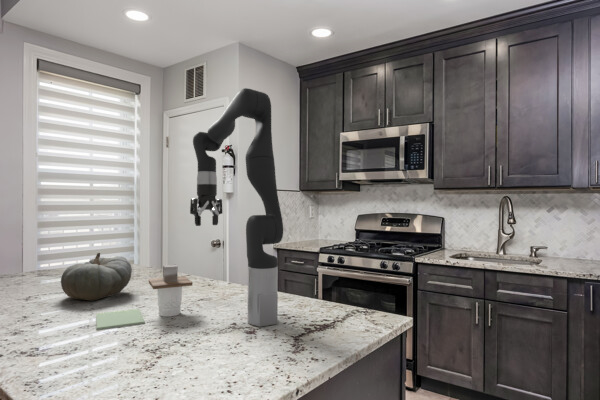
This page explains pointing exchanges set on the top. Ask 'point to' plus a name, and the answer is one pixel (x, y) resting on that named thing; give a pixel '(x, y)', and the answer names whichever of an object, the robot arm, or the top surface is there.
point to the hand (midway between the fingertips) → (206, 225)
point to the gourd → (96, 278)
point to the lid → (170, 279)
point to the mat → (119, 319)
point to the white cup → (169, 301)
